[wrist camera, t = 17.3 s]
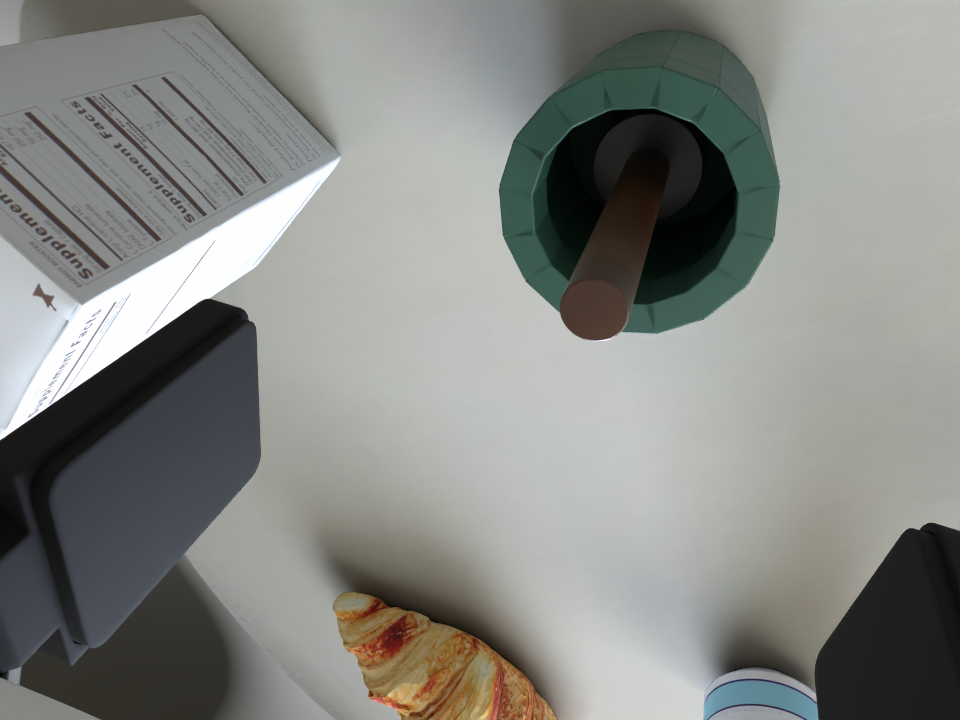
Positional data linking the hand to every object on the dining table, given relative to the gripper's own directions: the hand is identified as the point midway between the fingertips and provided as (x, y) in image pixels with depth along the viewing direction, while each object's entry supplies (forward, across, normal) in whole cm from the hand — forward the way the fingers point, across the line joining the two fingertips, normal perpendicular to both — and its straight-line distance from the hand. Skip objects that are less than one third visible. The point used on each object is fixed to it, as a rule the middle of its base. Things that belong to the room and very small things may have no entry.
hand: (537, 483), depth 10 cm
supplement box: (+23, +21, +6) cm, 32 cm away
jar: (+23, 0, +1) cm, 23 cm away
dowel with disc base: (+23, 0, +1) cm, 23 cm away
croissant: (+23, +3, +40) cm, 46 cm away
